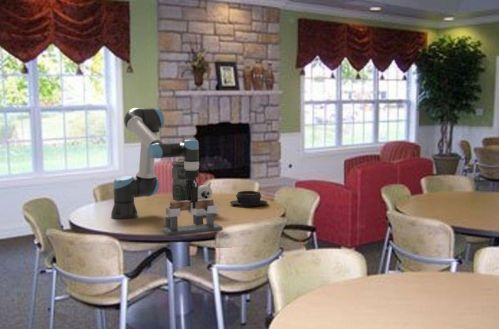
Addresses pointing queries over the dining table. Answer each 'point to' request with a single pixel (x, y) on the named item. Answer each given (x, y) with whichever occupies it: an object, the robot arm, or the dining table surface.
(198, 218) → the rests
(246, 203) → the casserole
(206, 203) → the rail
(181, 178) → the canister
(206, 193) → the decorative figurine
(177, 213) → the bracket stand
